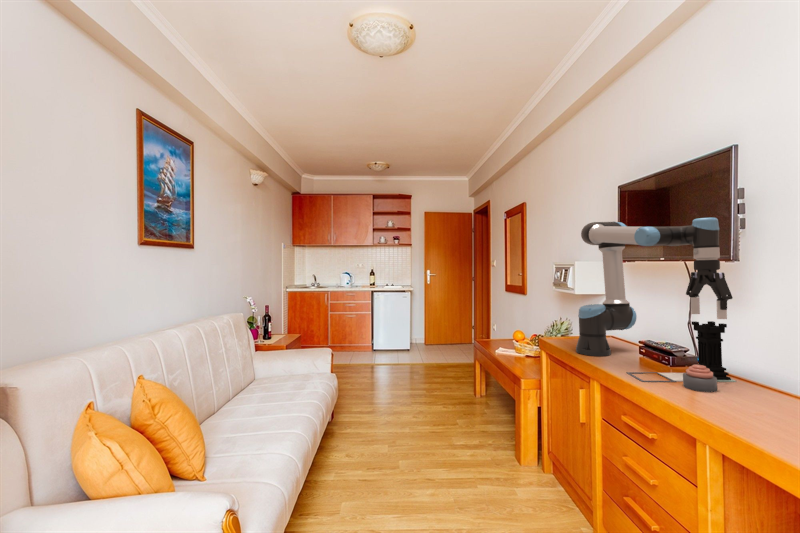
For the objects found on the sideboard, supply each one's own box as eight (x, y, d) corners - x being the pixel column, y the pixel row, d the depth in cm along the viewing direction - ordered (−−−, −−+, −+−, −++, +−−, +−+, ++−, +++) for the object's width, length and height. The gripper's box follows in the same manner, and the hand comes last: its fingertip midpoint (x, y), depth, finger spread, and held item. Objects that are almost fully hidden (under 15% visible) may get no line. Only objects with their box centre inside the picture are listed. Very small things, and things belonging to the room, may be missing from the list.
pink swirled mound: (681, 372, 129) (680, 363, 129) (703, 372, 128) (703, 363, 128) (695, 378, 122) (694, 368, 122) (718, 378, 121) (718, 368, 121)
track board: (626, 373, 144) (626, 371, 144) (714, 373, 141) (713, 372, 141) (642, 381, 133) (642, 380, 133) (738, 382, 129) (738, 381, 129)
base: (677, 383, 130) (676, 372, 130) (704, 383, 129) (704, 372, 129) (694, 392, 121) (694, 380, 121) (724, 392, 120) (723, 380, 120)
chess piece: (714, 373, 139) (712, 321, 139) (730, 380, 131) (728, 324, 131) (691, 373, 140) (689, 321, 140) (706, 379, 132) (704, 324, 132)
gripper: (674, 260, 149) (675, 312, 149) (720, 259, 124) (722, 321, 124) (694, 259, 148) (695, 312, 148) (745, 258, 123) (746, 321, 123)
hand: (708, 316), depth 136 cm, fingers open, 13 cm apart
